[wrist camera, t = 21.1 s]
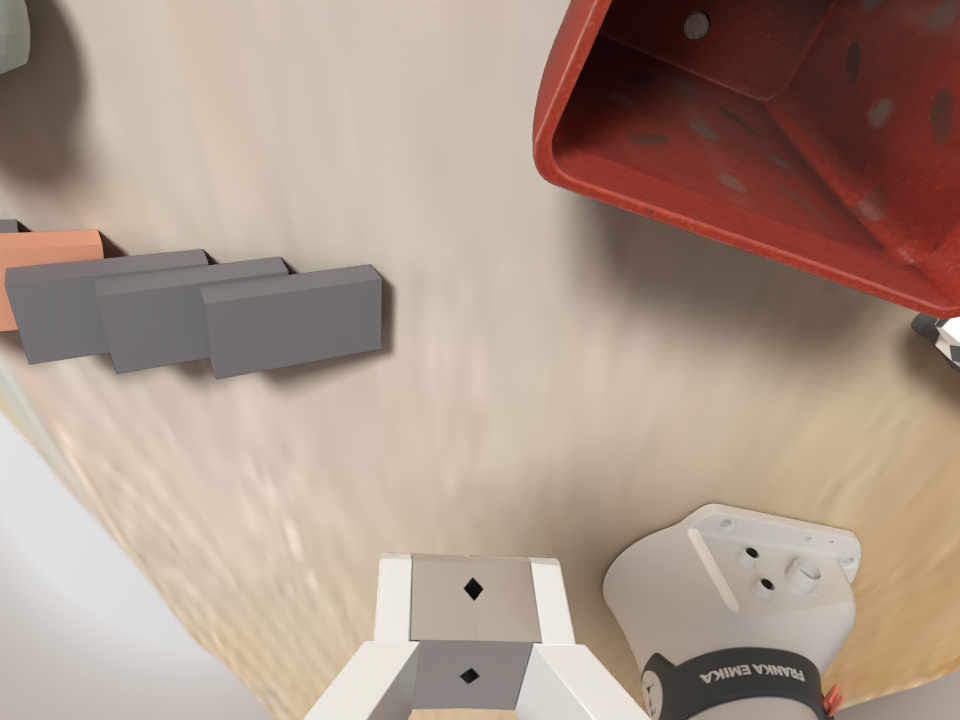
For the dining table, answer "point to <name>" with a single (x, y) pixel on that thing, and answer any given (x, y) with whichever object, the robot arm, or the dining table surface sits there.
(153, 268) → the domino
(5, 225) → the domino
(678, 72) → the plant pot
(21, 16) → the air freshener
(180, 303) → the domino
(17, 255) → the domino
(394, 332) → the dining table surface
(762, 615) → the robot arm
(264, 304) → the domino
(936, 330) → the giant panda
